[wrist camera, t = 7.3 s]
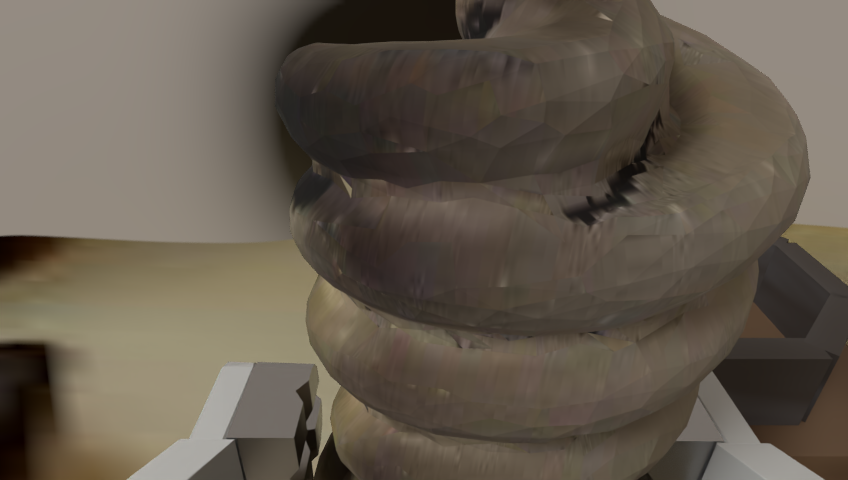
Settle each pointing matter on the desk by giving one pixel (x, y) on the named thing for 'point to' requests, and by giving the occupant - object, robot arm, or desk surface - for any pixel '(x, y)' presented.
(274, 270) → the desk surface
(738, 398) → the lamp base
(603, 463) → the light bulb
